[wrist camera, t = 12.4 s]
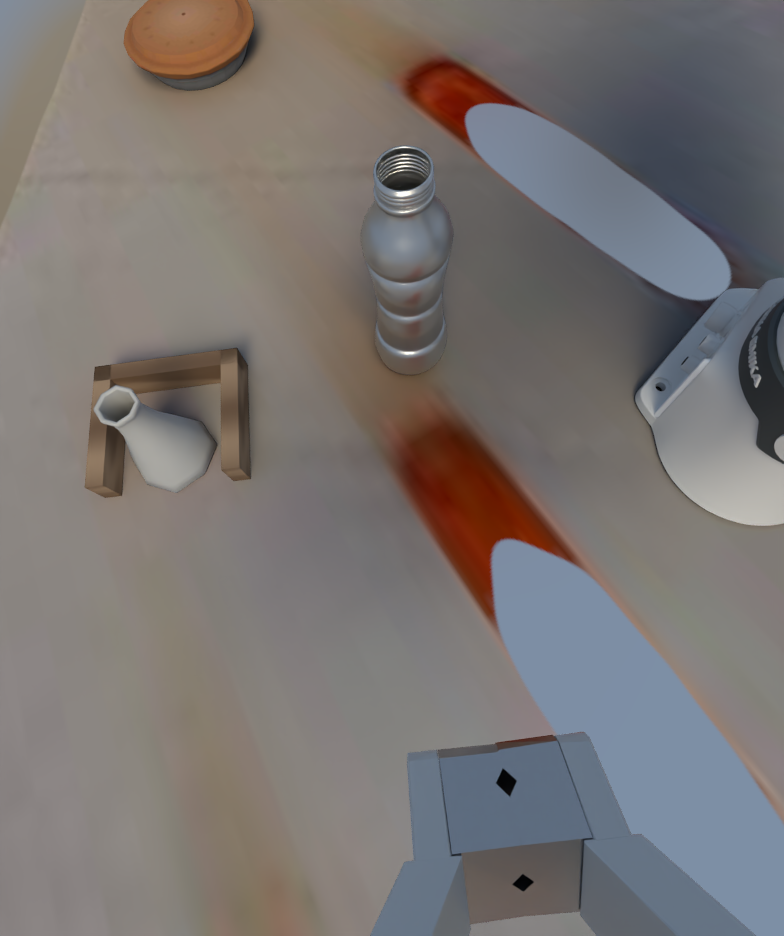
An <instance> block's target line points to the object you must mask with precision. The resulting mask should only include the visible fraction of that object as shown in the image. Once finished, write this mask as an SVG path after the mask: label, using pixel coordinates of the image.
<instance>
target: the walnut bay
mask: <svg viewBox="0 0 784 936" xmlns="http://www.w3.org/2000/svg"><path fill="white" fill-rule="evenodd" d="M214 383H221V470H222V471H223V472H224V473H225V474H227V475H228V476H229V477H230V478H231V479H232V480H233V481H238V480H246V479H251V477H250V439H249V402H248V365H247V363H246V362H245V360H244V359H243V357H242V355H241V354H240V352H239V350H238V349H237V348H233V349H225V350H218V351H210V352H203V353H195V354H188V355H180V356H173V357H165V358H158V359H150V360H143V361H136V362H128V363H121V364H113V365H106V366H98V367H95V371H94V383H93V395H92V407H91V419H90V431H89V442H88V454H87V466H86V478H85V488H87V489H89V490H91V491H93V492H95V493H97V494H99V495H101V496H103V497H105V498H107V497H115V496H122V485H123V468H124V451H125V439H124V436H123V435H122V434H121V433H120V431H119V430H118V429H116V428H115V427H114V426H110V425H106V424H103V423H101V422H100V420H99V418H98V417H97V415H96V413H95V412H94V410H93V409H94V407H95V405H96V403H97V401H98V399H99V397H100V395H101V394H102V393H104V392H105V391H107V390H108V389H110V388H112V387H113V386H115V385H119V386H123V387H127V388H131V389H132V390H133V391H134V392H135V394H138V393H146V392H153V391H161V390H168V389H176V388H183V387H191V386H199V385H206V384H214Z"/></svg>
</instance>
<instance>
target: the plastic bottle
mask: <svg viewBox="0 0 784 936" xmlns="http://www.w3.org/2000/svg"><path fill="white" fill-rule="evenodd" d="M373 176H374V198H375V201H374V202H373V204H372V205H371V207H370V208H369V210H368V212H367V214H366V215H365V218H364V222H363V226H362V230H361V246H362V250H363V254H364V258H365V261H366V264H367V266H368V269H369V272H370V275H371V278H372V281H373V284H374V289H375V294H376V299H377V322H376V328H375V344H376V348H377V351H378V353H379V355H380V357H381V359H382V361H383V362H384V364H385V365H386V366H387V367H388V368H390V369H391V370H393V371H395V372H397V373H400V374H405V375H415V374H420V373H423V372H425V371H427V370H429V369H430V368H432V367H433V366H434V365H435V364H436V363H437V362H438V361H439V359H440V358H441V356H442V353H443V351H444V348H445V345H446V341H447V329H446V323H445V318H444V315H443V306H442V292H443V284H444V275H445V271H446V268H447V264H448V260H449V256H450V252H451V247H452V241H453V226H452V223H451V219H450V216H449V213H448V211H447V209H446V207H445V206H444V204H443V203H442V202H441V201H440V200H439V199H438V198H437V197H436V195H435V181H434V166H433V162H432V159H431V157H430V156H429V155H428V154H427V153H426V152H425V151H424V150H422V149H420V148H418V147H414V146H398V147H394V148H391V149H389V150H387V151H386V152H384V153H383V154H382V155H381V156H380V157H379V158H378V159H377V161H376V163H375V166H374V173H373Z"/></svg>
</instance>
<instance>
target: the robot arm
mask: <svg viewBox="0 0 784 936" xmlns="http://www.w3.org/2000/svg"><path fill="white" fill-rule="evenodd" d="M656 386H658V387H660V388H661V389H662V391H658V390H657V389H656ZM635 401H636V404H637V406H638V408H639V410H640V411H641V413H642V414H643V416H644V417H645V419H646V420H647V421H648V423H649V424H650V425H651V427H652V430H653V433H654V437H655V441H656V446H657V450H658V453H659V456H660V459H661V461H662V463H663V466H664V467H665V469H666V471H667V473H668V474H669V476H670V477H671V479H672V480H673V481H674V483H675V484H676V485H677V486H678V487H679V488H680V490H681V491H682V492H683V493H684V494H686V495H687V496H688V497H689V498H690V499H691V500H693V501H694V502H695V503H697V504H698V505H699V506H701V507H702V508H704V509H706V510H707V511H709V512H711V513H713V514H715V515H717V516H720V517H722V518H725V519H727V520H731V521H734V522H738V523H742V524H748V525H759V526H767V525H777V524H783V523H784V277H783V278H775V279H771V280H769V281H767V282H766V283H764V284H763V286H762V287H761V288H760V289H750V288H734V289H728V290H726V291H724V292H723V293H722V294H721V295H720V296H719V297H718V298H717V299H716V300H715V301H714V302H713V303H712V305H711V306H710V307H709V308H708V309H707V310H706V312H705V313H704V314H703V315H702V316H701V317H700V319H699V320H698V321H697V322H696V323H695V324H694V326H693V327H692V328H691V329H690V330H689V332H688V333H687V334H686V335H685V336H684V337H683V339H682V340H681V341H680V342H679V343H678V344H677V346H676V347H675V348H674V349H673V350H672V351H671V353H670V354H669V355H668V356H667V357H666V358H665V360H664V361H663V362H662V363H661V364H660V366H659V367H658V368H657V369H656V370H655V371H654V373H653V374H652V375H651V376H650V377H649V378H648V380H647V381H646V382H645V383H644V384H643V385H642V387H641V388H640V389H639V390H638V392H637V393H636V396H635ZM438 755H439V759H438ZM439 764H440V766H439ZM407 770H408V784H409V798H410V812H411V827H412V841H413V855H414V860H413V861H407V862H404V864H403V866H402V869H401V871H400V873H399V875H398V877H397V879H396V881H395V884H394V886H393V888H392V890H391V892H390V894H389V896H388V899H387V901H386V903H385V905H384V907H383V909H382V911H381V914H380V916H379V918H378V920H377V922H376V924H375V926H374V929H373V931H372V933H371V935H370V936H469V933H470V930H471V928H470V925H471V924H477V923H484V922H491V921H497V920H504V919H511V918H517V917H525V916H536V915H548V914H560V913H572V912H580V916H581V917H582V918H583V919H584V921H585V922H586V923H587V924H588V926H589V927H590V928H591V929H592V931H593V932H594V933H595V934H596V936H756V935H755V934H754V933H752V932H751V931H750V930H749V929H748V928H747V927H746V926H745V925H743V924H742V923H741V922H740V921H739V920H738V919H737V918H736V917H734V916H733V915H732V914H731V913H730V912H729V911H728V910H727V909H725V908H724V907H723V906H722V905H721V904H720V903H719V902H717V901H716V900H715V899H714V898H713V897H712V896H711V895H709V893H707V892H706V891H705V890H704V889H703V888H702V887H701V886H700V885H698V884H697V883H696V882H695V881H694V880H693V879H692V878H690V877H689V876H688V875H687V874H686V873H685V872H684V871H683V870H681V869H680V868H679V867H678V866H677V865H676V864H675V863H674V862H672V861H671V860H670V859H669V858H668V857H667V856H666V855H665V854H663V853H662V852H661V851H660V850H659V849H658V848H657V847H656V846H654V845H653V844H652V843H651V842H650V841H649V840H648V839H647V838H645V837H644V836H643V835H642V834H633V835H631V832H630V830H629V828H628V825H627V823H626V821H625V818H624V816H623V814H622V811H621V809H620V807H619V804H618V802H617V800H616V798H615V795H614V793H613V791H612V788H611V786H610V784H609V781H608V779H607V777H606V774H605V772H604V770H603V767H602V765H601V763H600V760H599V758H598V756H597V753H596V751H595V749H594V747H593V744H592V742H591V740H590V738H589V737H588V736H587V734H586V733H585V732H577V733H571V734H564V735H557V736H553V735H548V736H541V737H533V738H526V739H519V740H512V741H505V742H498V743H495V744H489V745H480V746H470V747H460V748H450V749H441V750H438V753H437V750H429V751H421V752H413V753H408V757H407ZM440 771H441V774H440ZM441 779H442V781H441ZM442 787H443V788H442ZM443 794H444V795H443Z"/></svg>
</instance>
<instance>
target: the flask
mask: <svg viewBox="0 0 784 936" xmlns="http://www.w3.org/2000/svg"><path fill="white" fill-rule="evenodd" d="M93 410H94V412H95V413H96V415H97V417H98V418H99V420H100V422H101V423H103V424H106V425H110V426H114V427H115V428H116V429H118V430H119V431H120V433H121V434H122V435H123V436H124V439H125V441H126V443H127V446H128V449H129V452H130V455H131V457H132V460H133V462H134V463H135V465H136V467H137V468H138V470H139V471H140V473H141V475H142V476H143V478H144V480H145V481H146V483H147V485H150V486H154V487H157V488H161V489H164V490H168V491H172V492H175V493H177V492H179V491H180V490H182V489H183V488H185V487H186V486H188V485H189V484H191V483H192V482H194V481H195V480H197V479H198V478H199V477H201V476H202V475H204V474H205V472H206V470H207V467H208V465H209V463H210V460H211V458H212V456H213V453H214V451H215V448H216V446H217V444H216V442H215V441H214V440H213V438H212V437H211V435H210V434H209V432H208V431H207V429H206V428H205V426H204V425H203V423H202V422H200V421H196V420H192V419H188V418H184V417H181V416H177V415H173V414H169V413H164V412H159V411H156V410H154V409H152V408H150V407H148V406H146V405H144V404H142V403H141V402H140V400H139V399H138V397H137V396H136V394H135V392H134V391H133V390H132V389H131V388H127V387H123V386H119V385H115V386H113V387H112V388H110V389H108V390H107V391H105V392H104V393H102V394H101V395H100V397H99V399H98V401H97V403H96V405H95V407H94V409H93Z"/></svg>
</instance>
